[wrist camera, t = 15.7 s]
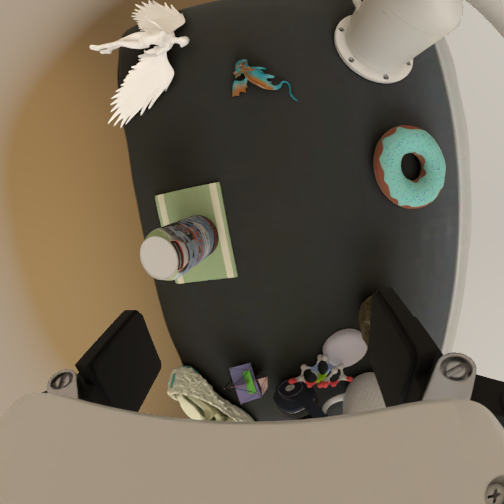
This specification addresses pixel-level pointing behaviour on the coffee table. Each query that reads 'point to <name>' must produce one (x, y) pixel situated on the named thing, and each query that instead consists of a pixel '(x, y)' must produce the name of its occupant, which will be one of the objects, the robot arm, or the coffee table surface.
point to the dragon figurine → (253, 78)
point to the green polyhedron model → (246, 383)
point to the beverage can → (178, 247)
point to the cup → (365, 318)
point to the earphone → (297, 400)
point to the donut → (391, 174)
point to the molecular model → (322, 379)
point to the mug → (359, 395)
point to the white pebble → (345, 347)
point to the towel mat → (211, 206)
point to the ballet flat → (202, 398)
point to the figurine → (147, 59)
